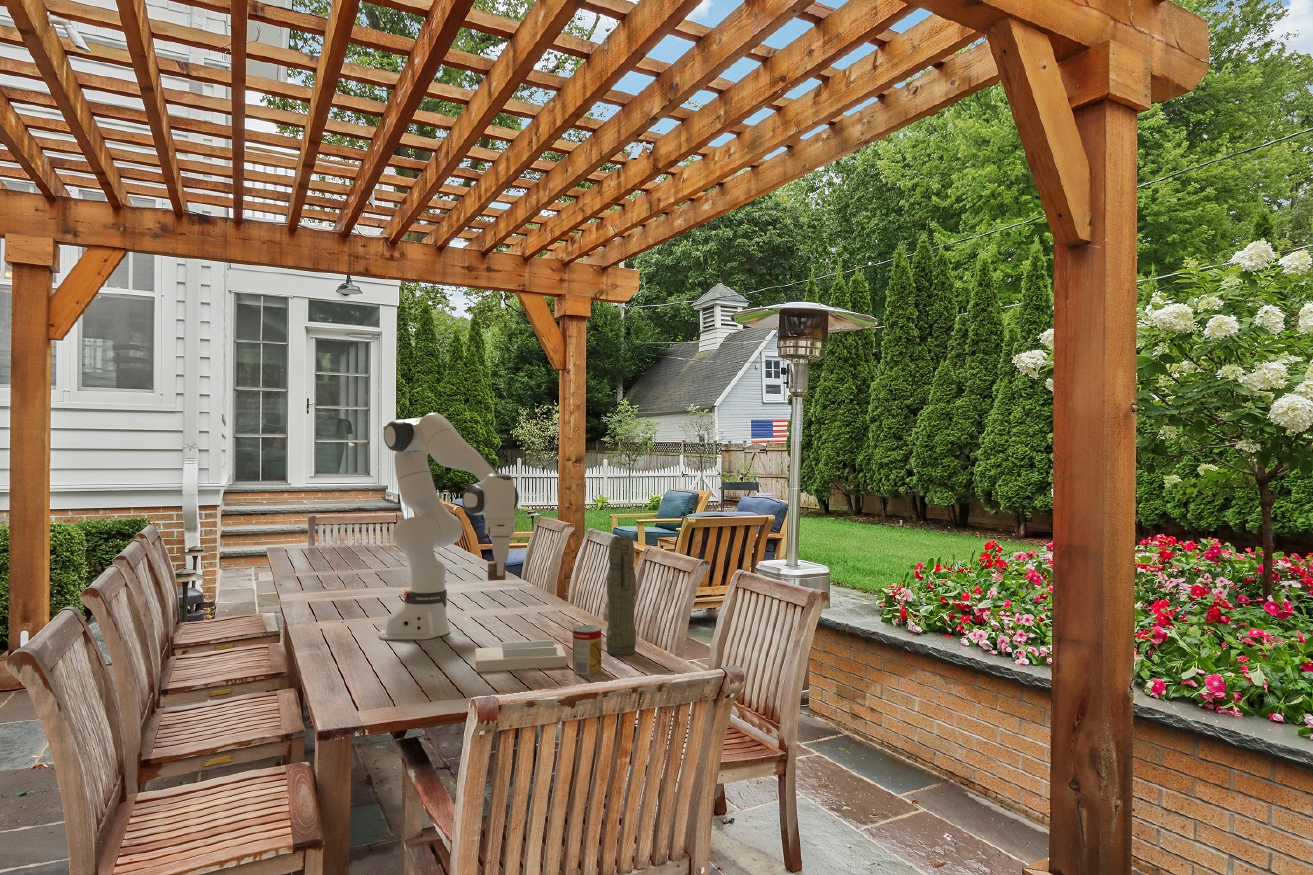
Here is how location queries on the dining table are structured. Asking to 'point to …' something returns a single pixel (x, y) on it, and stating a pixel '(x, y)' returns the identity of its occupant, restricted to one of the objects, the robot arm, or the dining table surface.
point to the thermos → (621, 597)
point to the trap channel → (520, 656)
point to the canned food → (587, 650)
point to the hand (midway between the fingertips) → (499, 573)
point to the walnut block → (494, 571)
